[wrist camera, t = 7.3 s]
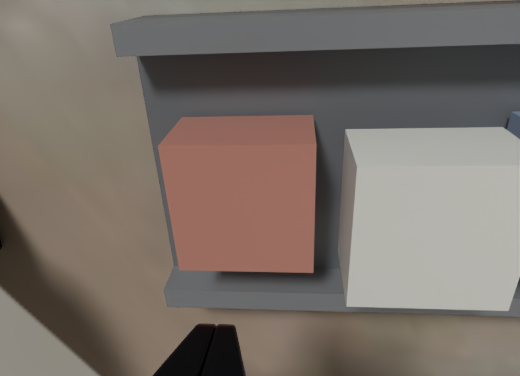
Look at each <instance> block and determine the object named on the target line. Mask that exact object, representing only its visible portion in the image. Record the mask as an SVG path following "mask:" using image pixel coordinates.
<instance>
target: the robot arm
mask: <svg viewBox="0 0 520 376" xmlns="http://www.w3.org/2000/svg"><path fill="white" fill-rule="evenodd" d="M1 248H2V243H1V240H0V249H1ZM153 376H246V375H245V370H244V365H243V360H242V356H241V351H240V346H239V341H238V337H237V332H236V328H235V326H234V325H228V324H219V325H217V326H216V325H215V324H198V325H196V326H195V327H194V329H193V330H192V331H191V332H190V333H189V334H188V335H187V337H186V338H185V339H184V340H183V341H182V342H181V343H180V345H179V346H178V347H177V348H176V349H175V350H174V352H173V353H172V354H171V355H170V356H169V357H168V358H167V360H166V361H165V362H164V363H163V364H162V365H161V367H160V368H159V369H158V370H157V371H156V372H155V373H154V375H153Z"/></svg>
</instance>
